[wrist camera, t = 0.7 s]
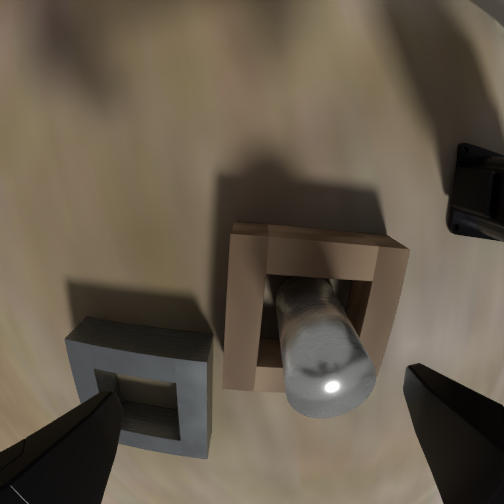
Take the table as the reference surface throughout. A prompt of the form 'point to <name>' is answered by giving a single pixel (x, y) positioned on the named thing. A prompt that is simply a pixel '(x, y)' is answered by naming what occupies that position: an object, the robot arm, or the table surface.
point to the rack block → (149, 367)
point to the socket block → (306, 265)
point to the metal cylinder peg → (320, 350)
